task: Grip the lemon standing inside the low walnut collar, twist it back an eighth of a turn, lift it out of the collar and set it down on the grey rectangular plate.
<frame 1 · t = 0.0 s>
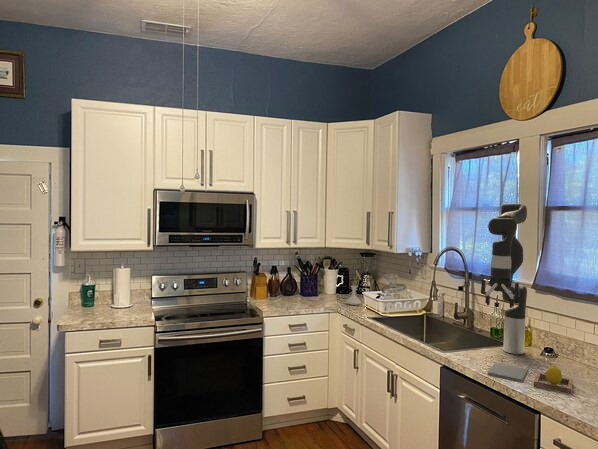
hand: (499, 306, 179), 29 cm above the counter, tool pointing down, fingers open, 8 cm apart
flower in vase: (353, 304, 324), on the counter
grey rectangular plate: (507, 372, 185), on the counter
walnut collar: (553, 385, 172), on the counter
lemon: (553, 386, 172), resting in walnut collar
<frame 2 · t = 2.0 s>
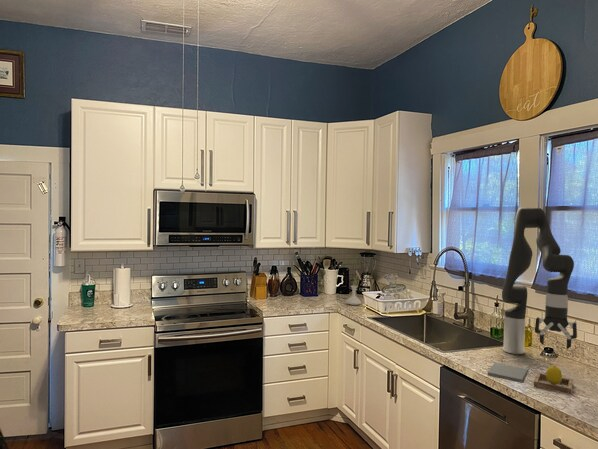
hand: (554, 346, 172), 16 cm above the counter, tool pointing down, fingers open, 8 cm apart
nothing on the counter moved.
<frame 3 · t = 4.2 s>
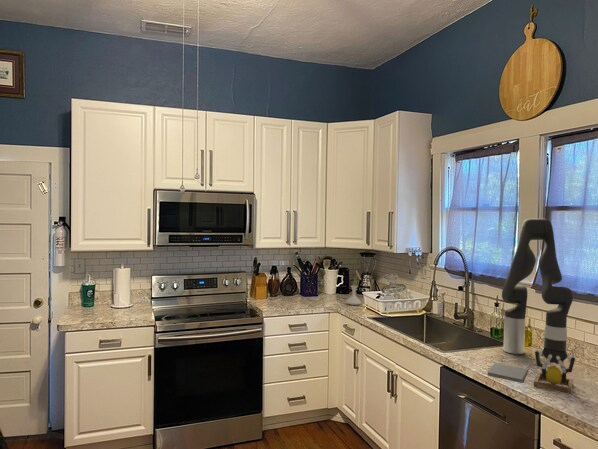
hand: (553, 379, 172), 2 cm above the counter, tool pointing down, fingers closed on lemon, 5 cm apart
lemon: (553, 386, 172), resting in walnut collar, touching gripper
everything else where it was.
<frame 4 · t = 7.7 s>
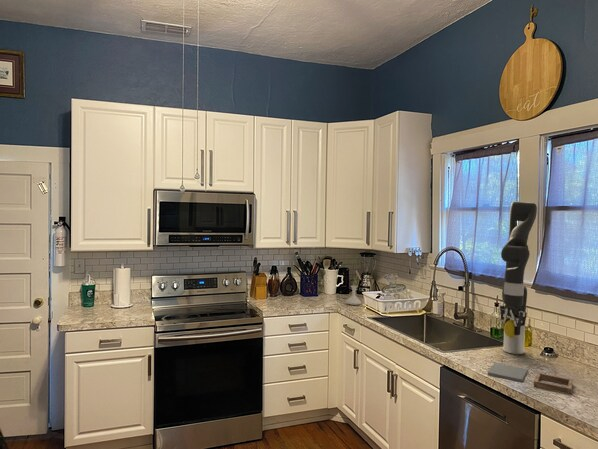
hand: (511, 332, 184), 17 cm above the counter, tool pointing down, fingers closed on lemon, 5 cm apart
lemon: (511, 338, 184), point 15 cm above the counter, touching gripper
everything else where it was.
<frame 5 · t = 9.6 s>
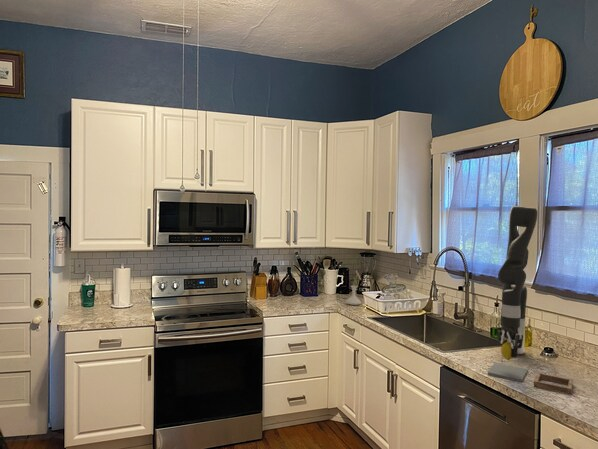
hand: (508, 354, 185), 8 cm above the counter, tool pointing down, fingers closed on lemon, 5 cm apart
lemon: (508, 360, 185), point 5 cm above the counter, touching gripper
everything else where it was.
when the fingers open (4 cm above the counter, at t = 11.2 s): lemon stays where it is, resting on grey rectangular plate.
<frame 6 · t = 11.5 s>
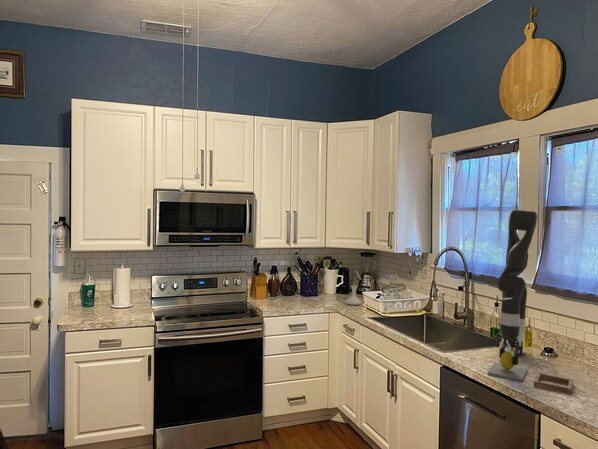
hand: (508, 361, 185), 5 cm above the counter, tool pointing down, fingers open, 7 cm apart
lemon: (507, 370, 185), point 1 cm above the counter, touching grey rectangular plate
everything else where it was.
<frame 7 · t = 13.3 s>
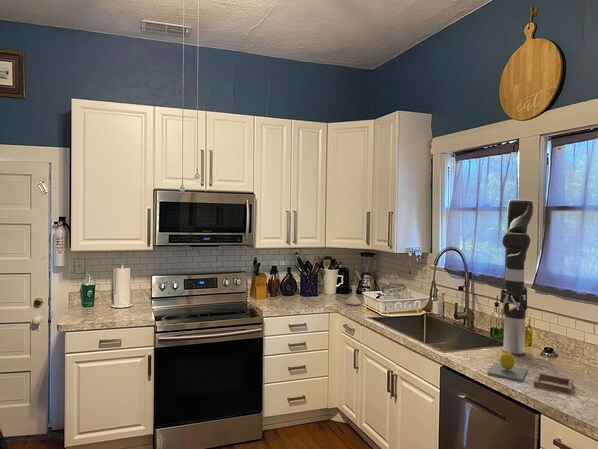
hand: (512, 316, 189), 23 cm above the counter, tool pointing down, fingers open, 8 cm apart
nothing on the counter moved.
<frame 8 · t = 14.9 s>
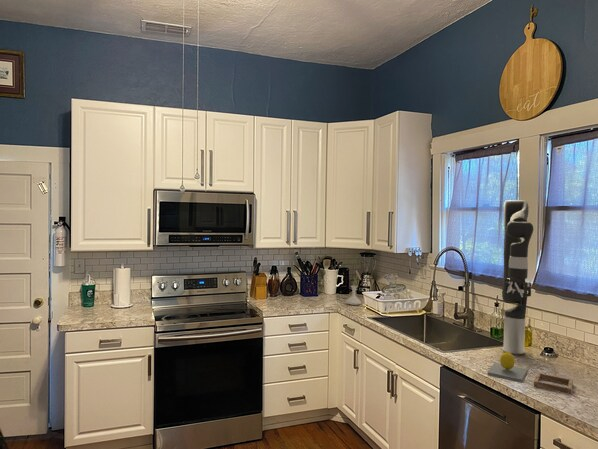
hand: (516, 303, 192), 28 cm above the counter, tool pointing down, fingers open, 8 cm apart
nothing on the counter moved.
at the end: lemon inside the target area on the grey rectangular plate (0.3 cm from its centre), point 0.8 cm above the grey rectangular plate's base; the gripper is holding nothing; lemon moved 17.9 cm from its start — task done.
